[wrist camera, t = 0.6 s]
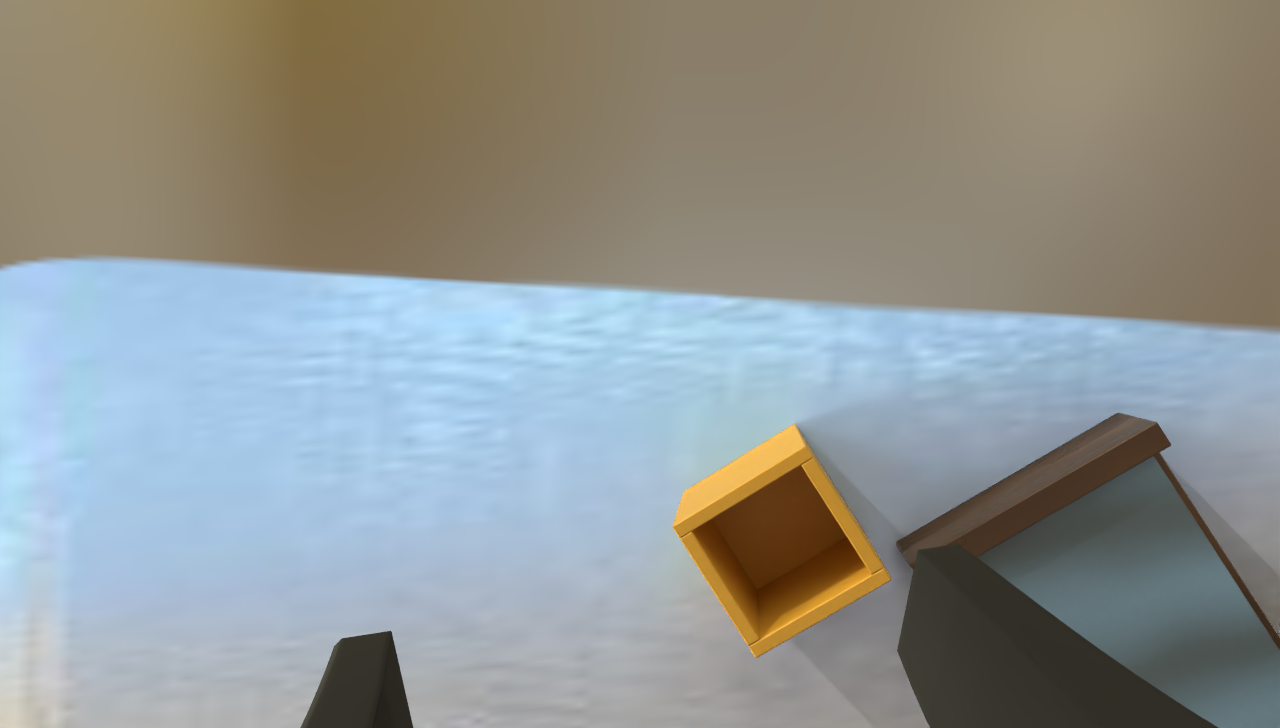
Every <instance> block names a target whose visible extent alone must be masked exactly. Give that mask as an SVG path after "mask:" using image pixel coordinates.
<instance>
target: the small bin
mask: <svg viewBox="0 0 1280 728" xmlns="http://www.w3.org/2000/svg"><path fill="white" fill-rule="evenodd" d="M673 529H674V530H675V532H676V534H677V535H678V537H679V538H680V540H681V541H682V543H683V545H684V546H685V548H686V549H687V551H688V552H689V554H690V556H691V557H692V559H693V560H694V562H695V563H696V565H697V567H698V568H699V570H700V571H701V573H702V574H703V576H704V578H705V579H706V581H707V582H708V584H709V585H710V587H711V589H712V590H713V592H714V593H715V595H716V596H717V598H718V600H719V601H720V603H721V604H722V606H723V607H724V609H725V611H726V612H727V614H728V615H729V617H730V618H731V620H732V622H733V623H734V625H735V626H736V628H737V629H738V631H739V633H740V634H741V636H742V637H743V639H744V640H745V642H746V644H747V645H749V648H750V650H751V651H752V653H753V655H754V656H755V657H756V658H757V657H759V656H761V655H762V654H764V653H766V652H768V651H769V650H771V649H773V648H774V647H776V646H778V645H780V644H781V643H783V642H785V641H787V640H788V639H790V638H792V637H794V636H795V635H797V634H799V633H800V632H802V631H804V630H806V629H807V628H809V627H811V626H813V625H814V624H816V623H818V622H819V621H821V620H823V619H825V618H826V617H828V616H830V615H832V614H833V613H835V612H837V611H839V610H840V609H842V608H844V607H845V606H847V605H849V604H851V603H852V602H854V601H856V600H858V599H859V598H861V597H863V596H864V595H866V594H868V593H870V592H871V591H873V590H875V589H877V588H878V587H880V586H882V585H884V584H885V583H887V582H889V581H890V580H891V577H890V576H889V574H888V572H887V570H886V569H885V567H884V565H883V563H882V562H881V560H880V558H879V556H878V555H877V553H876V551H875V549H874V548H873V546H872V544H871V542H870V541H869V539H868V537H867V535H866V534H865V532H864V531H863V529H862V527H861V526H860V524H859V523H858V521H857V520H856V518H855V517H854V515H853V513H852V512H851V510H850V509H849V507H848V506H847V504H846V503H845V501H844V499H843V498H842V496H841V495H840V493H839V492H838V490H837V488H836V487H835V485H834V484H833V482H832V481H831V479H830V478H829V476H828V474H827V473H826V471H825V470H824V468H823V467H822V465H821V463H820V462H819V460H818V459H817V457H816V456H815V454H814V453H813V451H812V449H811V448H810V446H809V445H808V443H807V442H806V440H805V439H804V437H803V435H802V434H801V432H800V431H799V429H798V428H797V426H796V425H795V424H793V425H792V426H790V427H788V428H787V429H785V430H783V431H782V432H780V433H779V434H777V435H775V436H774V437H772V438H770V439H769V440H767V441H765V442H764V443H762V444H761V445H759V446H757V447H756V448H754V449H752V450H751V451H749V452H748V453H746V454H744V455H743V456H741V457H739V458H738V459H736V460H735V461H733V462H731V463H730V464H728V465H726V466H725V467H723V468H722V469H720V470H718V471H717V472H715V473H713V474H712V475H710V476H708V477H707V478H705V479H704V480H702V481H700V482H699V483H697V484H695V485H694V486H692V487H691V488H689V489H687V490H686V491H684V492H683V496H682V499H681V502H680V505H679V508H678V511H677V514H676V517H675V520H674V524H673Z"/></svg>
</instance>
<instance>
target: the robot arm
mask: <svg viewBox="0 0 1280 728" xmlns="http://www.w3.org/2000/svg"><path fill="white" fill-rule="evenodd" d="M897 651H898V654H899V656H900V659H901V661H902V664H903V666H904V669H905V671H906V673H907V676H908V678H909V681H910V683H911V686H912V688H913V691H914V693H915V695H916V697H917V700H918V702H919V704H920V707H921V709H922V711H923V713H924V716H925V718H926V720H927V722H928V724H929V726H930V728H1218V727H1217V726H1215V725H1213V724H1212V723H1210V722H1209V721H1207V720H1205V719H1204V718H1202V717H1200V716H1199V715H1197V714H1196V713H1194V712H1192V711H1191V710H1189V709H1188V708H1186V707H1185V706H1183V705H1182V704H1180V703H1179V702H1177V701H1176V700H1174V699H1172V698H1171V697H1169V696H1168V695H1166V694H1165V693H1163V692H1162V691H1160V690H1159V689H1157V688H1156V687H1154V686H1153V685H1151V684H1150V683H1148V682H1147V681H1145V680H1144V679H1142V678H1141V677H1139V676H1138V675H1136V674H1135V673H1133V672H1132V671H1130V670H1129V669H1128V668H1126V667H1125V666H1123V665H1122V664H1120V663H1119V662H1117V661H1116V660H1115V659H1113V658H1112V657H1110V656H1109V655H1107V654H1106V653H1105V652H1103V651H1102V650H1100V649H1099V648H1098V647H1096V646H1095V645H1093V644H1092V643H1091V642H1089V641H1088V640H1086V639H1085V638H1084V637H1082V636H1081V635H1080V634H1078V633H1077V632H1075V631H1074V630H1073V629H1071V628H1070V627H1069V626H1067V625H1066V624H1065V623H1063V622H1062V621H1061V620H1059V619H1058V618H1057V617H1055V616H1054V615H1052V614H1051V613H1050V612H1048V611H1047V610H1046V609H1044V608H1043V607H1042V606H1040V605H1039V604H1038V603H1037V602H1035V601H1034V600H1033V599H1031V598H1030V597H1029V596H1027V595H1026V594H1025V593H1023V592H1022V591H1021V590H1019V589H1018V588H1017V587H1015V586H1014V585H1013V584H1011V583H1010V582H1009V581H1007V580H1006V579H1005V578H1004V577H1002V576H1001V575H1000V574H998V573H997V572H996V571H994V570H993V569H992V568H990V567H989V566H988V565H986V564H985V563H984V562H982V561H981V560H980V559H978V558H977V557H976V556H974V555H973V554H972V553H970V552H969V551H967V550H966V549H965V548H963V547H962V546H961V545H959V544H953V545H946V546H940V547H933V548H927V549H920V550H918V552H917V557H916V562H915V567H914V571H913V576H912V581H911V586H910V591H909V596H908V601H907V606H906V611H905V616H904V621H903V626H902V631H901V635H900V640H899V645H898V650H897ZM301 728H413V725H412V720H411V716H410V711H409V707H408V703H407V698H406V694H405V689H404V685H403V680H402V676H401V672H400V667H399V663H398V658H397V654H396V650H395V645H394V641H393V636H392V632H391V631H387V632H381V633H375V634H368V635H362V636H355V637H349V638H342V639H341V640H340V641H339V642H338V643H337V644H336V645H335V646H334V649H333V651H332V654H331V657H330V660H329V662H328V665H327V668H326V670H325V673H324V675H323V678H322V680H321V683H320V685H319V687H318V690H317V692H316V695H315V697H314V699H313V702H312V704H311V706H310V708H309V711H308V713H307V715H306V717H305V720H304V722H303V724H302V726H301Z"/></svg>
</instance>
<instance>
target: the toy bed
mask: <svg viewBox="0 0 1280 728" xmlns="http://www.w3.org/2000/svg"><path fill="white" fill-rule="evenodd" d="M1169 446H1171V443H1170V442H1169V440H1168V439H1167V437H1166V436H1165V434H1164V433H1163V431H1162V429H1161V428H1160V426H1159V425H1158V423H1156V422H1153V421H1149V420H1145V419H1142V418H1138V417H1134V416H1130V415H1126V414H1122V413H1116V414H1115V415H1113V416H1111V417H1110V418H1108V419H1106V420H1104V421H1103V422H1101V423H1099V424H1098V425H1096V426H1094V427H1092V428H1091V429H1089V430H1087V431H1086V432H1084V433H1082V434H1080V435H1079V436H1077V437H1075V438H1074V439H1072V440H1070V441H1068V442H1067V443H1065V444H1063V445H1062V446H1060V447H1058V448H1056V449H1055V450H1053V451H1051V452H1050V453H1048V454H1046V455H1044V456H1043V457H1041V458H1039V459H1038V460H1036V461H1034V462H1032V463H1031V464H1029V465H1027V466H1026V467H1024V468H1022V469H1020V470H1019V471H1017V472H1015V473H1014V474H1012V475H1010V476H1008V477H1007V478H1005V479H1003V480H1002V481H1000V482H998V483H996V484H995V485H993V486H991V487H990V488H988V489H986V490H984V491H983V492H981V493H979V494H978V495H976V496H974V497H972V498H971V499H969V500H967V501H966V502H964V503H962V504H960V505H959V506H957V507H955V508H954V509H952V510H950V511H948V512H947V513H945V514H943V515H942V516H940V517H938V518H936V519H935V520H933V521H931V522H930V523H928V524H926V525H924V526H923V527H921V528H919V529H918V530H916V531H914V532H912V533H911V534H909V535H907V536H906V537H904V538H902V539H900V540H899V541H897V542H896V545H897V547H898V548H899V550H900V551H901V553H902V555H903V556H904V558H905V559H906V561H907V562H908V564H909V565H910V567H911V569H912V570H913V571H914V567H915V562H916V557H917V552H918V550H920V549H927V548H933V547H940V546H946V545H953V544H959V545H961V546H962V547H963V548H965V549H966V550H967V551H969V552H970V553H972V554H973V555H974V556H976V557H977V558H978V559H980V560H981V561H982V562H984V563H985V564H986V565H988V566H989V567H990V568H992V569H993V570H994V571H996V572H997V573H998V574H1000V575H1001V576H1002V577H1004V578H1005V579H1006V580H1007V581H1009V582H1010V583H1011V584H1013V585H1014V586H1015V587H1017V588H1018V589H1019V590H1021V591H1022V592H1023V593H1025V594H1026V595H1027V596H1029V597H1030V598H1031V599H1033V600H1034V601H1035V602H1037V603H1038V604H1039V605H1040V606H1042V607H1043V608H1044V609H1046V610H1047V611H1048V612H1050V613H1051V614H1052V615H1054V616H1055V617H1057V618H1058V619H1059V620H1061V621H1062V622H1063V623H1065V624H1066V625H1067V626H1069V627H1070V628H1071V629H1073V630H1074V631H1075V632H1077V633H1078V634H1080V635H1081V636H1082V637H1084V638H1085V639H1086V640H1088V641H1089V642H1091V643H1092V644H1093V645H1095V646H1096V647H1098V648H1099V649H1100V650H1102V651H1103V652H1105V653H1106V654H1107V655H1109V656H1110V657H1112V658H1113V659H1115V660H1116V661H1117V662H1119V663H1120V664H1122V665H1123V666H1125V667H1126V668H1128V669H1129V670H1130V671H1132V672H1133V673H1135V674H1136V675H1138V676H1139V677H1141V678H1142V679H1144V680H1145V681H1147V682H1148V683H1150V684H1151V685H1153V686H1154V687H1156V688H1157V689H1159V690H1160V691H1162V692H1163V693H1165V694H1166V695H1168V696H1169V697H1171V698H1172V699H1174V700H1176V701H1177V702H1179V703H1180V704H1182V705H1183V706H1185V707H1186V708H1188V709H1189V710H1191V711H1192V712H1194V713H1196V714H1197V715H1199V716H1200V717H1202V718H1204V719H1205V720H1207V721H1209V722H1210V723H1212V724H1213V725H1215V726H1217V727H1218V728H1280V638H1279V636H1278V635H1277V633H1276V632H1275V630H1274V629H1273V627H1272V626H1271V624H1270V623H1269V621H1268V619H1267V618H1266V616H1265V615H1264V613H1263V612H1262V610H1261V609H1260V607H1259V606H1258V604H1257V602H1256V601H1255V599H1254V598H1253V596H1252V595H1251V593H1250V592H1249V590H1248V589H1247V587H1246V585H1245V584H1244V582H1243V581H1242V579H1241V578H1240V576H1239V575H1238V573H1237V572H1236V570H1235V569H1234V567H1233V565H1232V564H1231V562H1230V561H1229V559H1228V558H1227V556H1226V555H1225V553H1224V552H1223V550H1222V548H1221V547H1220V545H1219V544H1218V542H1217V541H1216V539H1215V538H1214V536H1213V535H1212V533H1211V531H1210V530H1209V528H1208V527H1207V525H1206V524H1205V522H1204V521H1203V519H1202V518H1201V516H1200V515H1199V513H1198V511H1197V510H1196V508H1195V507H1194V505H1193V504H1192V502H1191V501H1190V499H1189V498H1188V496H1187V494H1186V493H1185V491H1184V490H1183V488H1182V487H1181V485H1180V484H1179V482H1178V481H1177V479H1176V477H1175V476H1174V474H1173V473H1172V471H1171V470H1170V468H1169V467H1168V465H1167V464H1166V462H1165V460H1164V459H1163V457H1162V456H1161V454H1160V453H1159V452H1161V451H1162V450H1164V449H1166V448H1168V447H1169Z"/></svg>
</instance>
